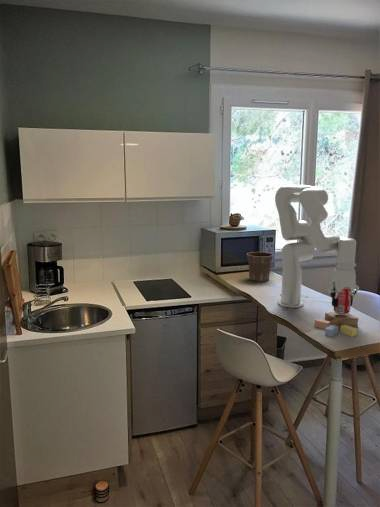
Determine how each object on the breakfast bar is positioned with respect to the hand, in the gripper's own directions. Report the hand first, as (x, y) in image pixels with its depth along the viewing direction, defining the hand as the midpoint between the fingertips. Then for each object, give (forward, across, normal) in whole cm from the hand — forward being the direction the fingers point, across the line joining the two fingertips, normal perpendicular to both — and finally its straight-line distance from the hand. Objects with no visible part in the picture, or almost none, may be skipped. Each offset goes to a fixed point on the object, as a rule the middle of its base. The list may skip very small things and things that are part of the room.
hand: (341, 305), depth 197 cm
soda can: (+4, 0, 0) cm, 4 cm away
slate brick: (+9, +11, +9) cm, 17 cm away
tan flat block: (+9, 0, 0) cm, 9 cm away
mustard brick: (+9, +4, +11) cm, 15 cm away
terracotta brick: (+9, +10, +1) cm, 13 cm away
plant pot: (+9, 0, -83) cm, 83 cm away
